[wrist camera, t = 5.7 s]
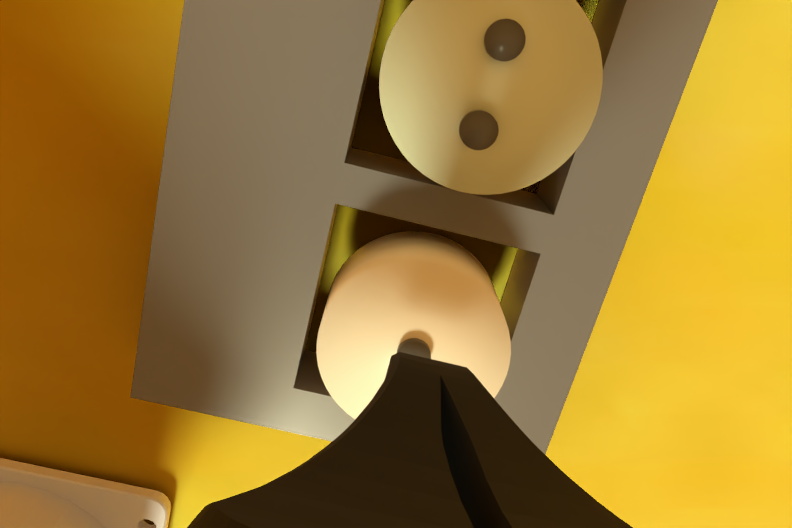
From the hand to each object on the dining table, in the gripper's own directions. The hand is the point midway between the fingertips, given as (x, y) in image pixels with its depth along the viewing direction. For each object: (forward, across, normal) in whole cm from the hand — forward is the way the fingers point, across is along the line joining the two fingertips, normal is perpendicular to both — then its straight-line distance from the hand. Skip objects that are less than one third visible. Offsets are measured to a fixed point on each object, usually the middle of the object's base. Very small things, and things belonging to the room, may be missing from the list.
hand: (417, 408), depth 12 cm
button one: (+4, 0, 0) cm, 4 cm away
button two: (+4, 0, -5) cm, 7 cm away
